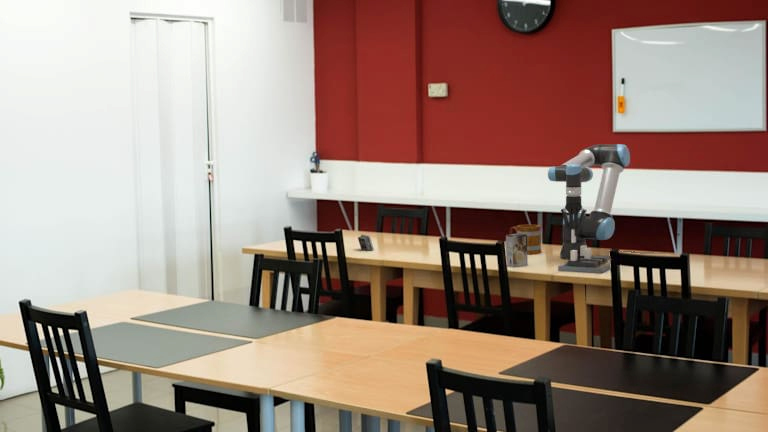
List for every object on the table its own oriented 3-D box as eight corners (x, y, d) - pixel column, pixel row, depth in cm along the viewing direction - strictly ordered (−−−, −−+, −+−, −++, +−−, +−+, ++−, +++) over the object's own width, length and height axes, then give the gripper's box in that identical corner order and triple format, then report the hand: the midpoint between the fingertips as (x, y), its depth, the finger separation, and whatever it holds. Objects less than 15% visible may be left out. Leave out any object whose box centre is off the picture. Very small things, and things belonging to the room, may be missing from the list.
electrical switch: (374, 250, 588) (372, 234, 586) (366, 252, 585) (364, 236, 584) (366, 248, 596) (364, 233, 594) (358, 250, 593) (356, 235, 592)
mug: (546, 252, 563) (546, 225, 562) (531, 255, 554) (531, 228, 552) (517, 249, 577) (517, 223, 576) (502, 252, 568) (502, 225, 566)
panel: (574, 262, 528) (574, 254, 527) (616, 264, 517) (616, 256, 517) (558, 271, 505) (558, 262, 504) (601, 273, 495) (601, 264, 494)
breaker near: (572, 259, 508) (572, 249, 507) (577, 260, 507) (577, 250, 506) (570, 260, 505) (570, 250, 504) (575, 261, 504) (575, 251, 503)
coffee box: (520, 263, 530) (520, 232, 528) (527, 265, 524) (527, 234, 522) (505, 265, 525) (505, 234, 523) (513, 267, 520) (512, 235, 518)
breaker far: (582, 255, 522) (582, 245, 521) (586, 255, 520) (586, 245, 520) (580, 255, 519) (580, 246, 518) (585, 256, 518) (585, 246, 517)
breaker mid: (586, 257, 513) (586, 248, 512) (591, 258, 511) (590, 248, 511) (584, 258, 510) (584, 248, 509) (589, 259, 509) (589, 249, 508)
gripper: (558, 195, 510) (558, 242, 512) (584, 196, 504) (584, 243, 506) (563, 194, 517) (563, 240, 519) (588, 195, 510) (588, 242, 513)
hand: (573, 242), depth 513 cm, fingers closed
